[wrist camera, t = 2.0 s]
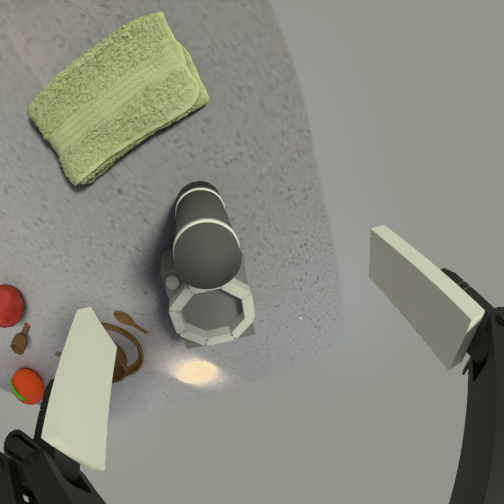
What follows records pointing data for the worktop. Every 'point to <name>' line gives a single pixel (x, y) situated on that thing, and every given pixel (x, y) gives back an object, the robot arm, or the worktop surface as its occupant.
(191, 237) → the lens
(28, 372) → the clementine
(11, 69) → the worktop surface
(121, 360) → the place setting
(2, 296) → the onion
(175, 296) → the block with octagonal ring
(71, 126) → the washcloth
